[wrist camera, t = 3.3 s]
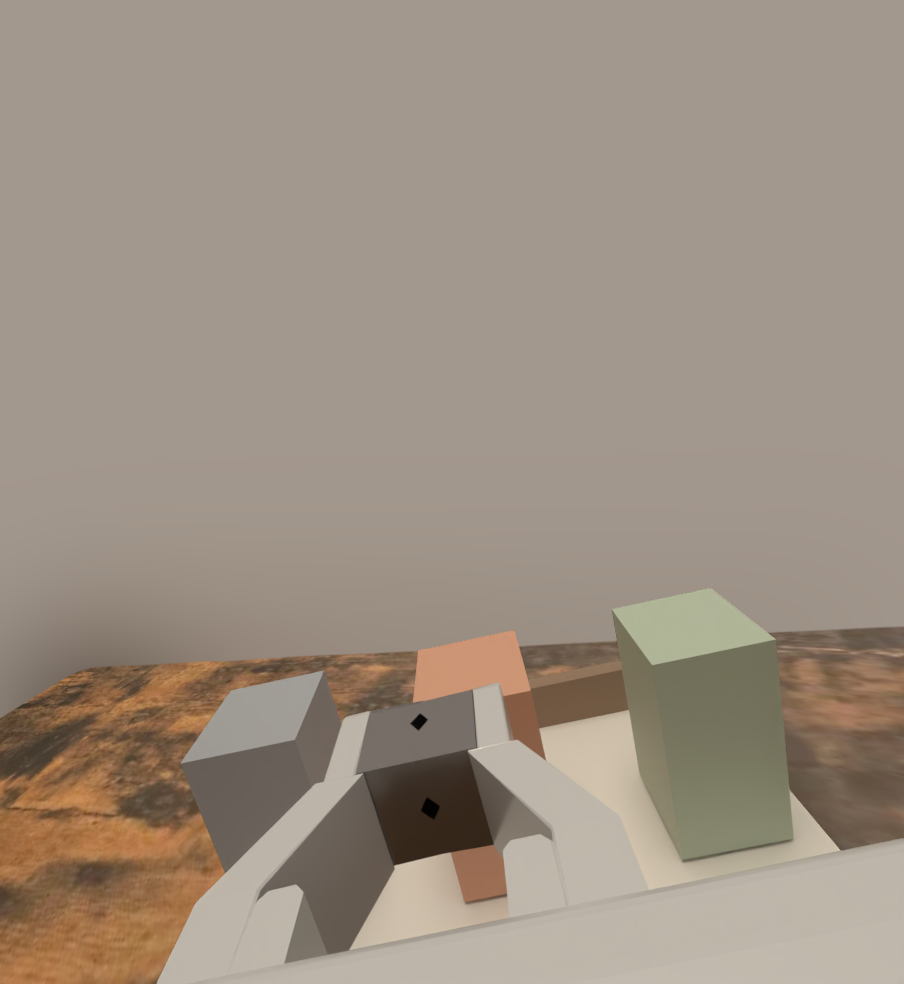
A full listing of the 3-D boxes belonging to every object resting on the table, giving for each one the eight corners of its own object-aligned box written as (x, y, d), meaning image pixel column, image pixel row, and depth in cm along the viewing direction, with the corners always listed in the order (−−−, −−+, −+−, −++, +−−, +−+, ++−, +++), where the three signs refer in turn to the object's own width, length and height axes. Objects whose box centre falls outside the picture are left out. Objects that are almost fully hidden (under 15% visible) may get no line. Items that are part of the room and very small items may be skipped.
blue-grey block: (254, 942, 23) (180, 763, 21) (287, 844, 28) (230, 690, 26) (358, 922, 23) (294, 739, 21) (374, 826, 28) (324, 670, 25)
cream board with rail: (152, 1192, 17) (106, 1109, 16) (306, 767, 35) (289, 718, 35) (982, 1047, 16) (984, 949, 15) (693, 687, 34) (686, 634, 33)
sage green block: (682, 859, 22) (652, 665, 20) (639, 773, 27) (611, 609, 25) (793, 838, 22) (775, 639, 20) (730, 755, 27) (710, 588, 25)
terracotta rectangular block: (464, 902, 23) (411, 715, 20) (461, 809, 27) (418, 650, 25) (572, 881, 22) (530, 690, 20) (549, 791, 27) (514, 629, 25)
